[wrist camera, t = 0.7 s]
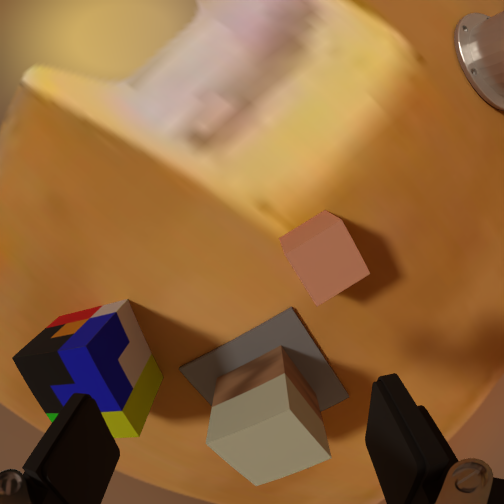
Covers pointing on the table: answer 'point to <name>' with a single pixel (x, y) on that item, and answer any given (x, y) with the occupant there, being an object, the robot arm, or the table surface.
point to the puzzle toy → (94, 366)
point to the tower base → (263, 378)
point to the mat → (260, 342)
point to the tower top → (268, 432)
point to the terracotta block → (324, 256)
